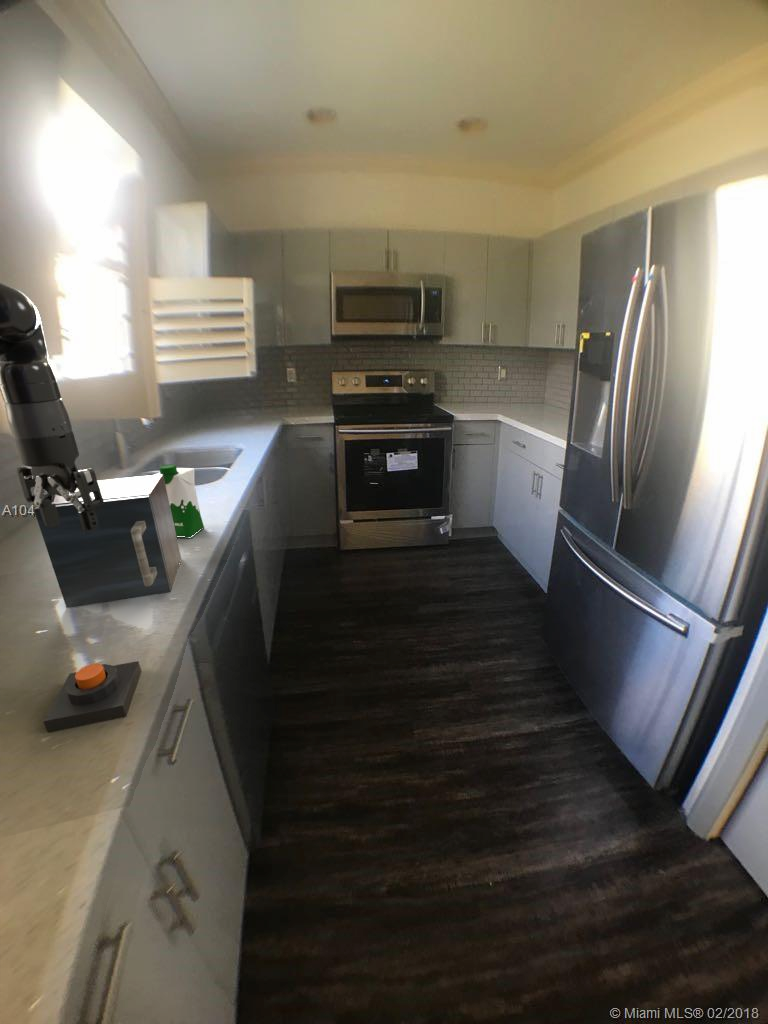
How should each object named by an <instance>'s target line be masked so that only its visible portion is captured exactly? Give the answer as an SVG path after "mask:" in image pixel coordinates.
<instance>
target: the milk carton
mask: <svg viewBox="0 0 768 1024" xmlns="http://www.w3.org/2000/svg"><path fill="white" fill-rule="evenodd" d="M158 468H159V472H157V473H154V475H160V474H163V476H164V481H165V485H166V490H167V495H168V499H169V504H170V508H171V513H172V518H173V522H174V527H175V532H176V536H185V537H191V536H192V535H194V534H195V533H196V532H198V531H199V530H200V529H202V528H203V527H204V528H205V525H204V521H203V519H202V516H201V511H200V506H199V501H198V496H197V495H198V494H197V491H196V484H195V482H196V481H195V468H194V467H177V465H176V464H173V463H171V464H170V463H169V464H163V465H161V466H159V467H158Z"/></svg>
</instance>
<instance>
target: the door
mask: <svg viewBox="0 0 768 1024" xmlns="http://www.w3.org/2000/svg"><path fill="white" fill-rule="evenodd" d="M83 503H84V502H82V504H83ZM56 508H57V511H58V515H59V518H60V521H61V523H60V524H59V525H57V526H55V527H52V528H48V527H46V526H45V524H44V521H43V519H42V515H41V512H40V509H39V507H36V506H35V507H34V508H33V511H34V515H35V518H36V521H37V524H38V527H39V531H40V533H41V536H42V538H43V542H44V545H45V548H46V551H47V554H48V557H49V560H50V563H51V566H52V569H53V572H54V575H55V578H56V581H57V584H58V587H59V590H60V594H61V596H62V599H63V602H64V605H65V608H72V607H81V606H85V605H87V606H88V605H92V604H93V605H94V604H100V603H106V602H111V601H119V600H125V599H132V598H139V597H145V596H153V595H159V594H165V593H171V591H172V589H171V586H170V582H169V577H168V573H167V569H166V564H165V560H164V556H163V551H162V547H161V543H160V538H159V534H158V530H157V526H156V521H155V517H154V513H153V508H152V504H151V500H150V496H149V495H148V496H139V497H129V498H120V499H110V500H104V504H102V505H99V506H97V507H95V513H96V516H97V520H98V523H99V528H98V530H96V531H94V532H91V533H85V532H84V531H83V528H82V524H81V521H80V518H79V514H78V512H79V511H78V510H77V508H76V507H75V506H74V505H73V504H63V505H56Z"/></svg>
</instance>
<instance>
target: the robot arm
mask: <svg viewBox="0 0 768 1024" xmlns="http://www.w3.org/2000/svg"><path fill="white" fill-rule="evenodd" d="M0 394H1V398H2V401H3V403H4V407H5V414H6V419H7V423H8V426H9V429H10V432H11V435H12V437H13V438H12V439H13V441H14V444H15V447H16V450H17V453H18V457H19V460H20V462H21V464H22V465H23V466H19V467H17V468H16V472H17V476H18V479H19V482H20V486H21V490H22V492H23V493H22V494H23V497H24V500H25V501H26V502H27V503H29V504H30V503H33V504H34V505H35V508H36V507H39V509H40V512H41V515H42V519H43V521H44V524H45V526H46V527H48V528H52V527H55V526H57V525H59V524H60V523H61V521H60V518H59V515H58V511H57V508H56V505H55V503H52V502H54V498H55V495H58V496H63V497H64V499H65V500H66V501H68V502H71V503H72V504H73V505H74V506H75V507H76V508H77V510H78V511H79V512H78V514H79V518H80V521H81V524H82V528H83V531H84V532H85V533H91V532H94V531H96V530H98V528H99V523H98V520H97V516H96V513H95V507H97V506H99V505H102V504H104V500H103V497H102V494H101V491H100V488H99V485H98V478H97V476H96V472H95V470H94V469H93V468H91V467H89V468H86V469H79V468H78V467H77V465H76V460H77V459H78V458H79V457H80V452H79V449H78V445H77V440H76V438H75V434H74V431H73V427H72V424H71V419H70V417H69V416H70V415H69V413H68V411H67V408H66V406H65V404H64V401H63V399H62V394H61V390H60V388H59V384H58V381H57V377H56V375H55V372H54V370H53V367H52V364H51V362H50V359H49V353H48V349H47V344H46V339H45V335H44V330H43V326H42V321H41V317H40V314H39V311H38V309H37V307H36V305H34V303H33V302H32V301H31V299H29V297H28V296H26V294H24V293H23V292H21V291H20V290H18V289H16V288H14V287H11V286H10V285H7V284H4V283H1V282H0ZM32 488H34V489H33V493H32ZM77 488H78V489H79V491H78V492H75V491H76V489H77ZM92 492H93V495H94V498H95V499H93V498H92V497H91V496H90V493H92ZM79 498H82V499H83V502H84V503H83V504H82V502H81V501H80V500H79Z"/></svg>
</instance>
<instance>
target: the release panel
mask: <svg viewBox="0 0 768 1024" xmlns="http://www.w3.org/2000/svg"><path fill="white" fill-rule="evenodd" d="M101 665H102V666H103V668H104V671H105V674H106V678H105V680H104V681H103V682H102V683H100V684H99V685H97V686H95V687H92V688H89V689H80V688H79V687H78V685H77V682H76V679H75V675H76V673H77V672H78V671H77V672H71V673H69V674H68V676H67V677H66V679H65V681H64V683H63V685H62V687H61V689H60V690H59V692H58V694H57V696H56V697H55V699H54V701H53V703H52V704H51V707H50V708H49V710H48V712H47V714H46V716H45V718H44V719H43V725H44V728H45V729H46V731H47V733H48V734H50V733H55V732H59V731H64V730H68V729H74V728H78V727H83V726H88V725H92V724H93V725H94V724H98V723H103V722H108V721H112V720H117V719H123V718H126V717H127V716H128V712H129V710H130V707H131V704H132V701H133V698H134V695H135V692H136V689H137V686H138V683H139V680H140V677H141V674H142V668H141V665H140V661H138V660H137V661H132V662H126V663H119V664H115V665H111V664H107V663H103V664H101Z"/></svg>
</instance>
